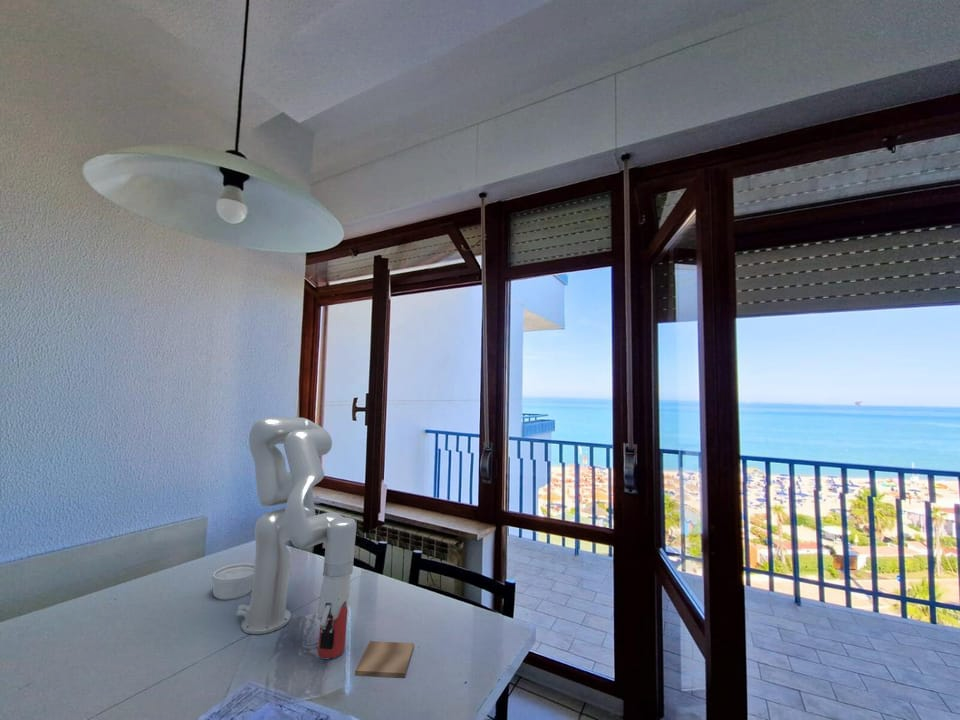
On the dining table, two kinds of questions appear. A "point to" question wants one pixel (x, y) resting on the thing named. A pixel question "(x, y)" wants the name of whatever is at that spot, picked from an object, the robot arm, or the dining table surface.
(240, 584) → the ramekin
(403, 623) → the dining table surface
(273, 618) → the robot arm
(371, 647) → the coaster board
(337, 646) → the beer can
